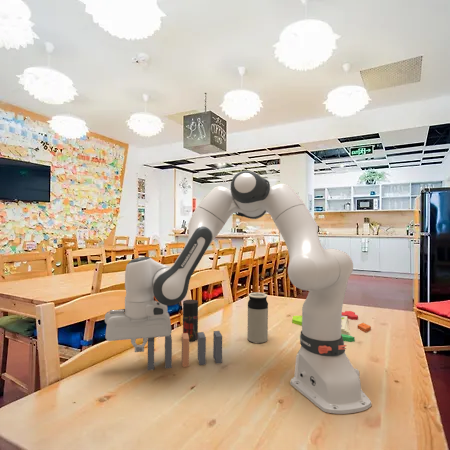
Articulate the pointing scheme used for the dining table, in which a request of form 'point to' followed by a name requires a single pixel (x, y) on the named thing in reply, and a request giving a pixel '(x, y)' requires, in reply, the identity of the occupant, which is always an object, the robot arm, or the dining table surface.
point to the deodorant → (190, 319)
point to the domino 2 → (168, 351)
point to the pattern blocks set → (342, 325)
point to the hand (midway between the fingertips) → (139, 351)
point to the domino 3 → (185, 349)
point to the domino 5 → (217, 347)
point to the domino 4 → (201, 348)
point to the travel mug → (257, 318)
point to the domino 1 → (151, 353)
